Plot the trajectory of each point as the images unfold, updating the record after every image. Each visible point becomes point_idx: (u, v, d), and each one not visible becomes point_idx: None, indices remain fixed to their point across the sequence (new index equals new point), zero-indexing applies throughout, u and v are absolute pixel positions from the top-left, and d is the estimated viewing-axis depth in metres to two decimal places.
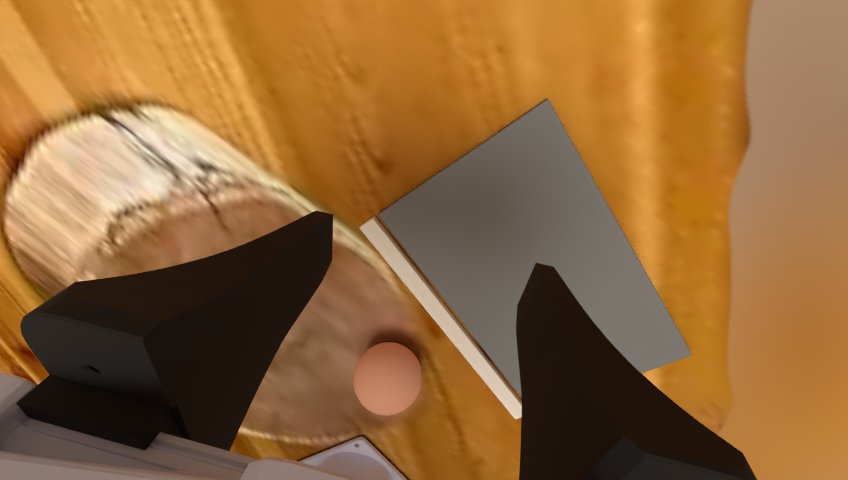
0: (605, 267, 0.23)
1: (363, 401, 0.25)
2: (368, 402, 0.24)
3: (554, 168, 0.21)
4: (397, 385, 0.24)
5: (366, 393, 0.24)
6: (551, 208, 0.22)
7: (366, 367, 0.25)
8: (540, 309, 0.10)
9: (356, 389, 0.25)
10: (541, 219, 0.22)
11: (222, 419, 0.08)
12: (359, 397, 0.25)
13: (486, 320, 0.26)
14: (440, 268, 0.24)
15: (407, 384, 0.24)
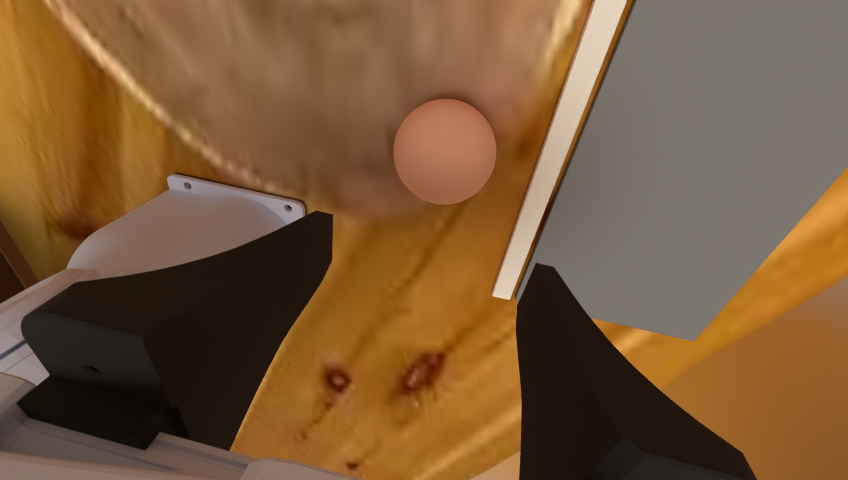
0: (757, 219, 0.19)
1: (416, 152, 0.16)
2: (425, 158, 0.15)
3: None
4: (477, 167, 0.16)
5: (433, 145, 0.15)
6: (817, 113, 0.16)
7: (454, 114, 0.15)
8: (540, 309, 0.10)
9: (415, 131, 0.16)
10: (793, 116, 0.16)
11: (222, 419, 0.08)
12: (412, 144, 0.16)
13: (594, 181, 0.19)
14: (634, 74, 0.16)
15: (483, 176, 0.16)
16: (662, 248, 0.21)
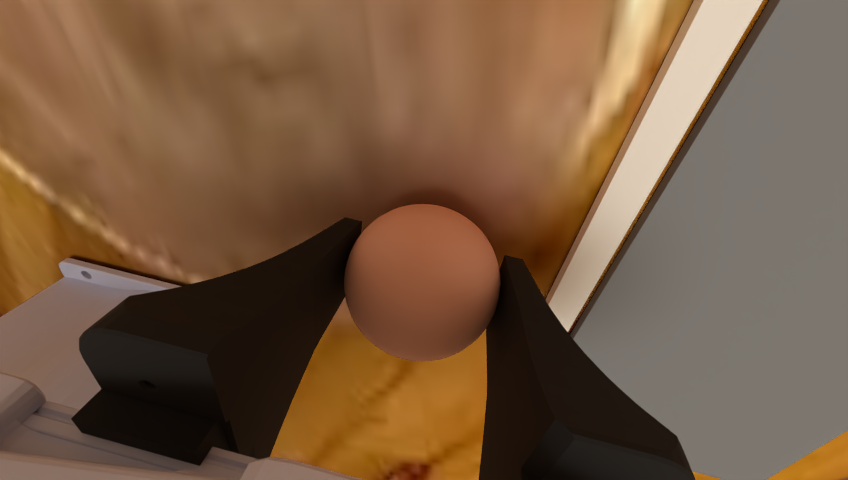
0: None
1: (372, 305, 0.10)
2: (387, 318, 0.10)
3: None
4: (470, 326, 0.10)
5: (398, 300, 0.09)
6: None
7: (435, 247, 0.10)
8: (505, 300, 0.11)
9: (372, 271, 0.10)
10: None
11: (264, 430, 0.08)
12: (366, 290, 0.10)
13: (639, 308, 0.13)
14: (717, 179, 0.10)
15: (479, 331, 0.11)
16: (726, 390, 0.15)
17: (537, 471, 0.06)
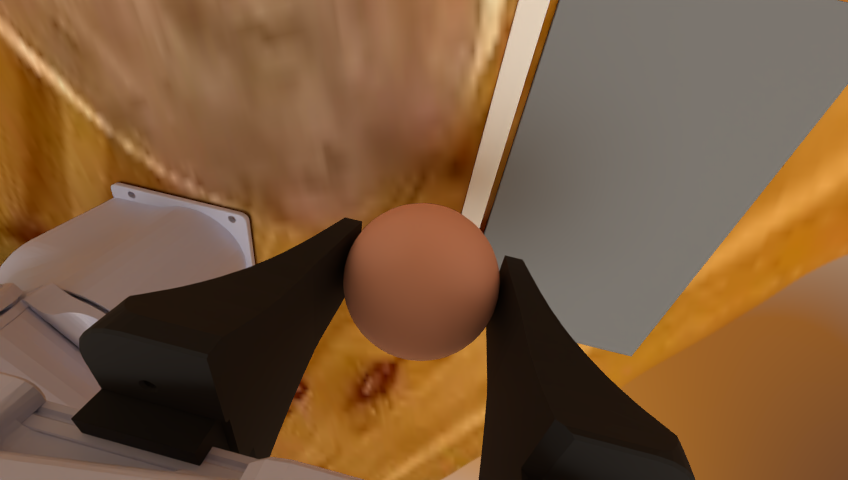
0: (681, 241, 0.19)
1: (371, 305, 0.10)
2: (386, 317, 0.10)
3: (790, 103, 0.15)
4: (469, 325, 0.10)
5: (398, 298, 0.09)
6: (728, 143, 0.16)
7: (434, 247, 0.10)
8: (505, 300, 0.11)
9: (371, 270, 0.10)
10: (705, 145, 0.17)
11: (264, 430, 0.08)
12: (365, 290, 0.10)
13: (525, 201, 0.20)
14: (554, 101, 0.17)
15: (479, 331, 0.11)
16: (594, 267, 0.21)
17: (537, 471, 0.06)
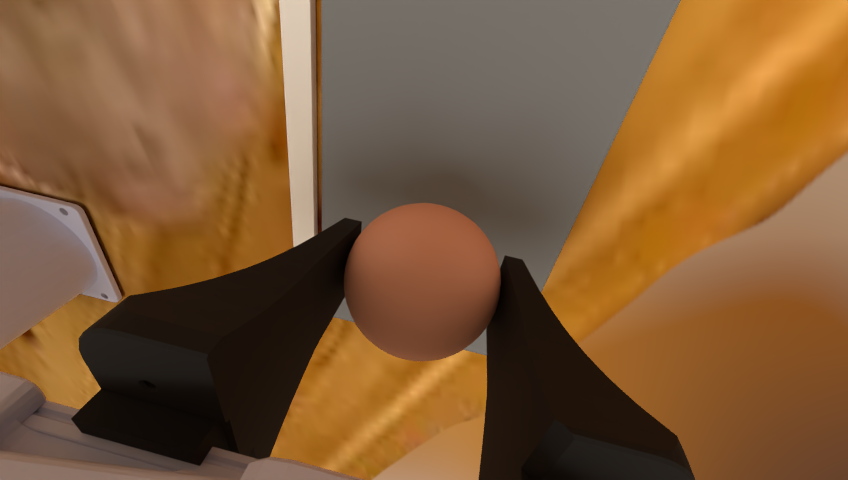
0: (526, 232, 0.17)
1: (372, 305, 0.10)
2: (387, 317, 0.10)
3: (603, 66, 0.13)
4: (470, 326, 0.10)
5: (398, 299, 0.09)
6: (547, 116, 0.14)
7: (435, 246, 0.09)
8: (505, 300, 0.11)
9: (372, 270, 0.10)
10: (524, 119, 0.14)
11: (264, 430, 0.08)
12: (366, 290, 0.10)
13: (352, 187, 0.17)
14: (349, 69, 0.14)
15: (480, 331, 0.10)
16: None
17: (537, 471, 0.06)
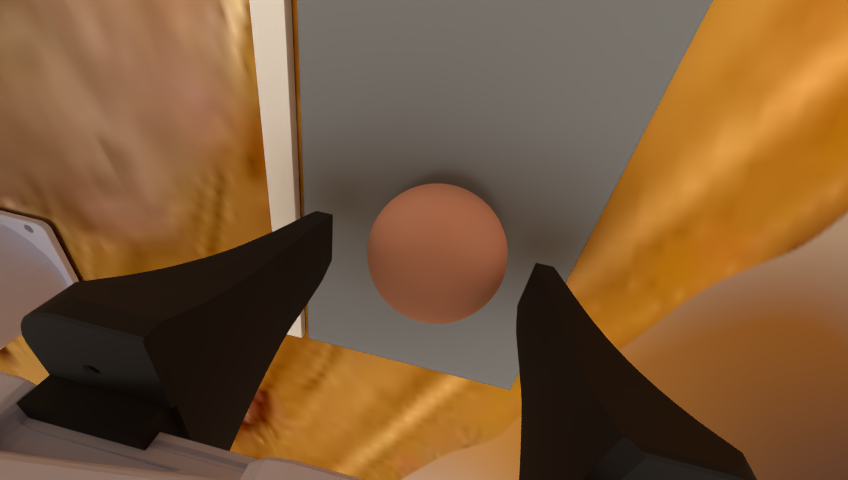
0: (530, 257, 0.15)
1: (403, 274, 0.11)
2: (417, 284, 0.11)
3: (620, 75, 0.11)
4: (488, 286, 0.11)
5: (428, 266, 0.11)
6: (555, 131, 0.12)
7: (455, 218, 0.11)
8: (540, 309, 0.10)
9: (400, 243, 0.11)
10: (528, 134, 0.13)
11: (222, 419, 0.08)
12: (396, 261, 0.11)
13: (338, 207, 0.16)
14: (331, 78, 0.13)
15: (494, 292, 0.12)
16: None
17: None
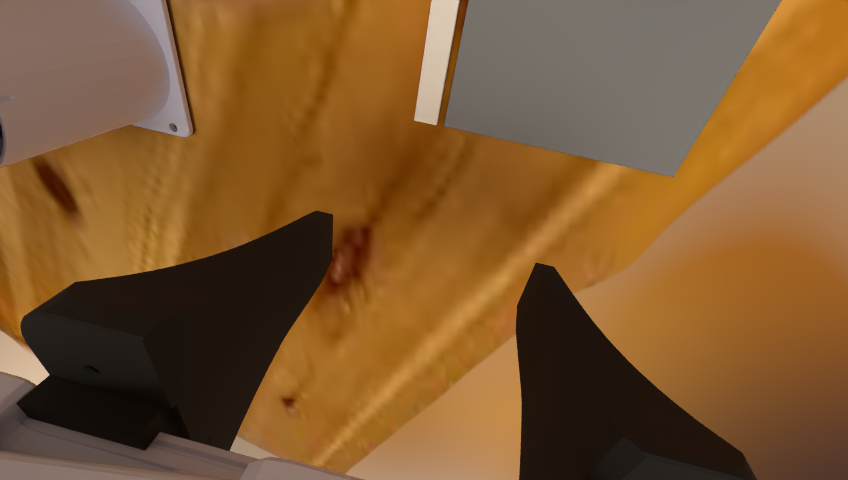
0: None
1: None
2: None
3: None
4: None
5: None
6: None
7: None
8: (540, 309, 0.10)
9: None
10: None
11: (222, 419, 0.08)
12: None
13: None
14: None
15: None
16: (628, 12, 0.15)
17: None
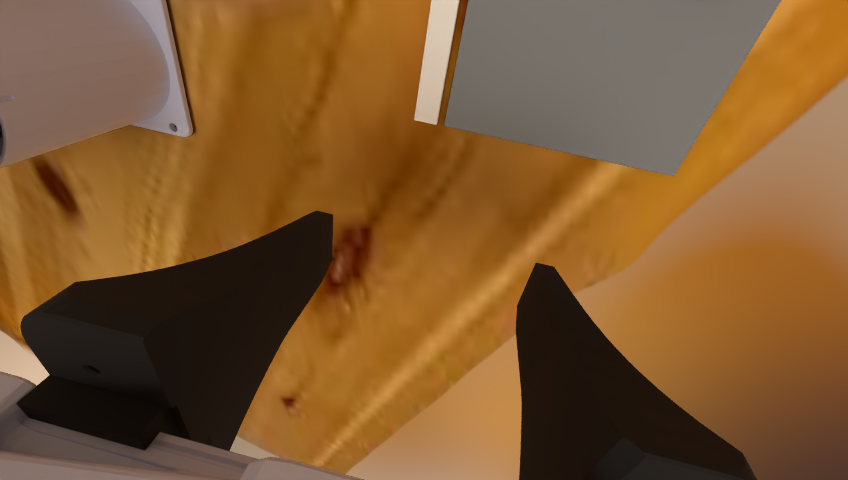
0: None
1: None
2: None
3: None
4: None
5: None
6: None
7: None
8: (540, 309, 0.10)
9: None
10: None
11: (222, 419, 0.08)
12: None
13: None
14: None
15: None
16: (628, 11, 0.15)
17: None
